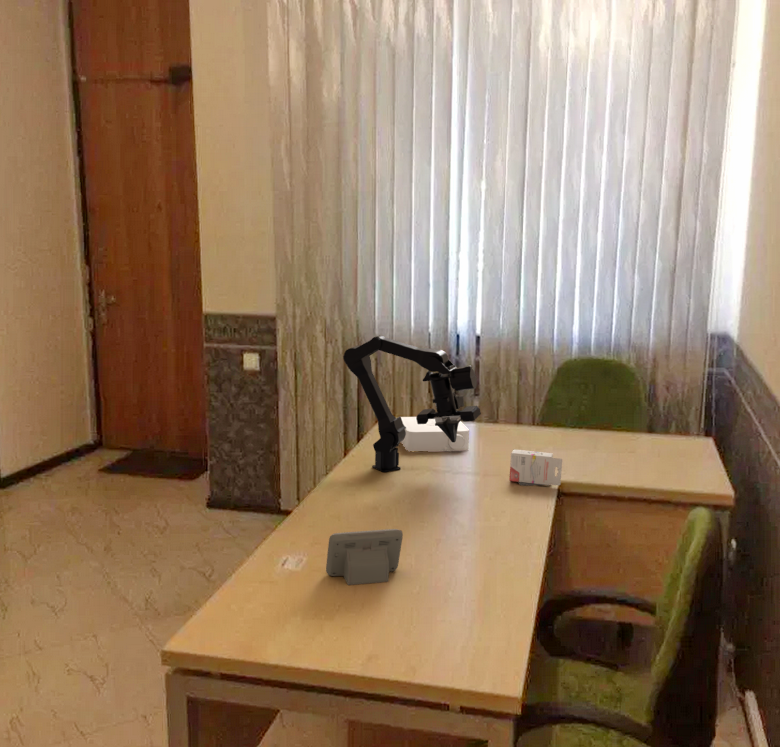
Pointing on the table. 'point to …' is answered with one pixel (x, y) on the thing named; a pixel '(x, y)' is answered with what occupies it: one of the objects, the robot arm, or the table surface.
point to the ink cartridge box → (535, 467)
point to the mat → (528, 483)
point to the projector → (432, 437)
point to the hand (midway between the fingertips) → (454, 441)
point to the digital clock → (364, 555)
